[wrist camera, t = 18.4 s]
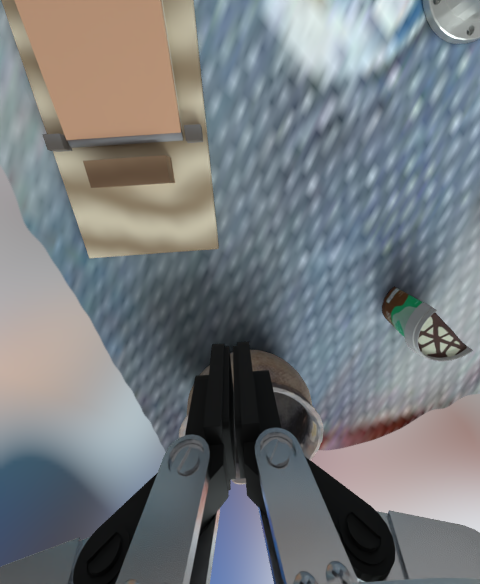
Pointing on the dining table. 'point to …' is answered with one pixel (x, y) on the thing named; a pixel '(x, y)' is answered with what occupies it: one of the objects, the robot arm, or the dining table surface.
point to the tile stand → (138, 161)
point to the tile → (106, 69)
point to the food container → (422, 327)
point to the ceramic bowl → (282, 404)
